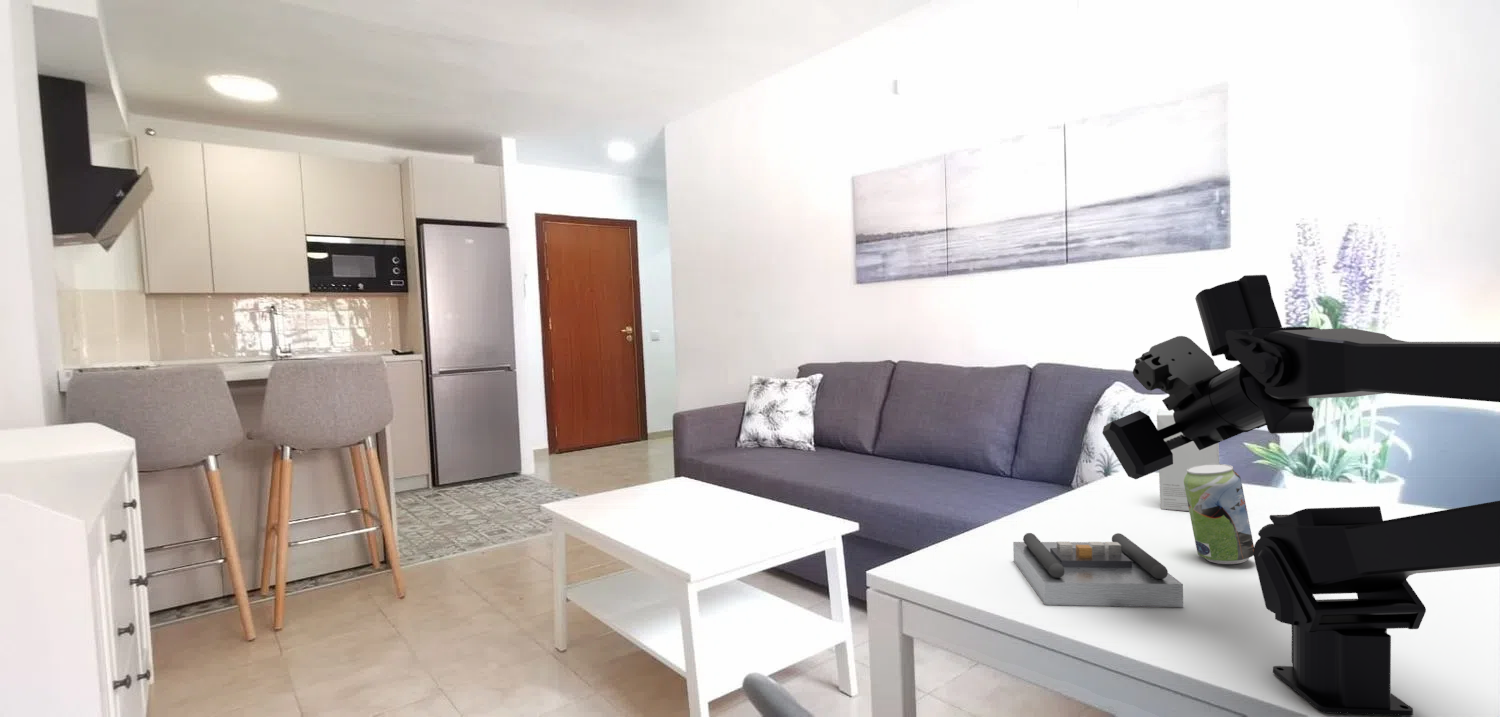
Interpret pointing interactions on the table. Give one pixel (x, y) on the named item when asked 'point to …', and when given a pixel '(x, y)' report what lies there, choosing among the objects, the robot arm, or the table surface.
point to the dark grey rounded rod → (1141, 557)
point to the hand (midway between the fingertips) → (1155, 440)
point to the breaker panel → (1096, 577)
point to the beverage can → (1218, 514)
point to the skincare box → (1180, 466)
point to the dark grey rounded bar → (1044, 555)
